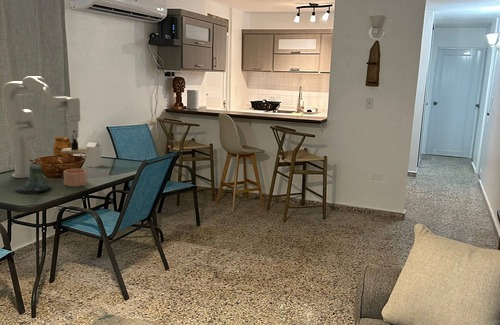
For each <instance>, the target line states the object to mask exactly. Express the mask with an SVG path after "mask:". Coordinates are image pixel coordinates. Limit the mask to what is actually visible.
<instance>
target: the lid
mask: <svg viewBox="0 0 500 325" xmlns="http://www.w3.org/2000/svg"><path fill="white" fill-rule="evenodd" d="M70 142H71V148H65V149H62V150H61V152H62V153H66V154H73V155H79V154H86V152H88V149H86V147H78V149H72V140H70ZM77 143H78V144H79V140H77Z"/></svg>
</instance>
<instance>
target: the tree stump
mask: <svg viewBox="0 0 500 325" xmlns="http://www.w3.org/2000/svg"><path fill="white" fill-rule="evenodd" d="M29 170H30V172H29V177H28V179H27V181H26V183H25V184H24V185H23V186H18V187H15V189H14V190H15V192H17V193H21V194H36V193H37V194H38V193H42V191H43V192H45V191H47V190H49V189H50V188H51V187H52V184H50V183H48V182H47V180H46V179H45V177H44V174H43V169H42V165H40V164H37V163H33V164H32V163H31V165H30V167H29Z"/></svg>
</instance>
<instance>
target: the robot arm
mask: <svg viewBox="0 0 500 325" xmlns="http://www.w3.org/2000/svg"><path fill="white" fill-rule="evenodd" d="M1 93H2V98H3V100H4V102H5V105H6V111H7V114H8V118H9V121H10V123H11V125H13V126H19V127H15V128H13V129H12V130H11V132H10V138H11V139H10V140H11V143H12V150H13V162H14V163H13V164H14V165H13V166H14V173H12V177H13V178H17V179H24V178H29V172H30V170H29V167H30V165H32V159H31V158H32V157H31V147H30V145H29V144H28V142H31V141H35V140H37V139H38V138H39V136H40V135H39V134H40V131H39V126H38V122H37V118H36V116H35V113H34V111H32V110H31V109H28V108H27V109H23V105H22V102H21V100H20V99H19V98H18V97H17V96H29V95H33V94H34V95H35V96H37V97H38V98H39V99H40V101H41V103H42V104H44V105H45V106H46V107H47V108H49V109H51V110H57V111H58V110H59V111H60V110H66V121H67V122H68V138H69V139H70V138H71V141H72V149H78V148H79V142H78V143H77V141H78V138H79V122H81V100H80V98H79V97H70V96H54V95H52V94H51V87H50V86H49V85H47V81H46V79H45V78H44V77H42V76H38V75H37V76H35V75H33V76H31V75H30V76H26V77H24V78H23V79H22V81H9V82H6V83H5V84H3V87H2V91H1ZM23 125H24V126H23ZM30 160H31V161H30Z"/></svg>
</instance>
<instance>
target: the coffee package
mask: <svg viewBox="0 0 500 325" xmlns="http://www.w3.org/2000/svg"><path fill="white" fill-rule="evenodd" d="M54 139H55V141H54V145H53V150H52V151H53V157H54V156H60V157H69V156H73V157H74V154H66V153H62V152H61V150H62V149H65V148H71V139H70V137H63V136H55V137H54Z"/></svg>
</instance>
